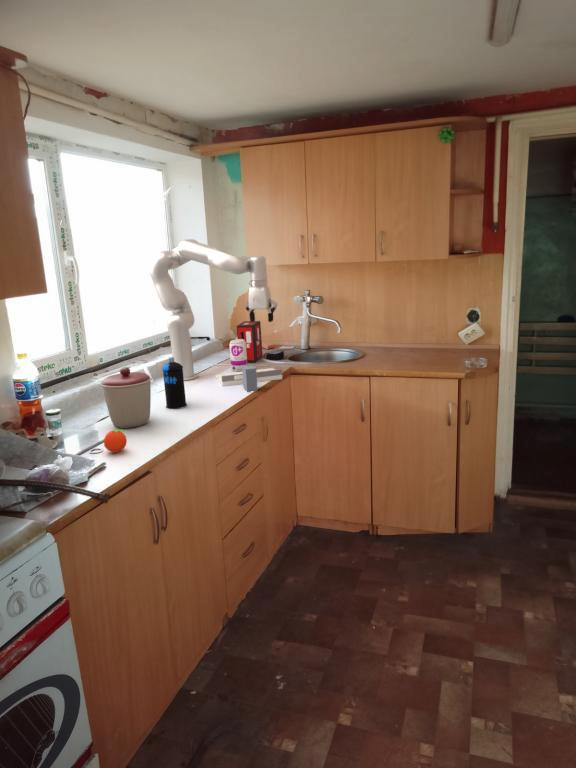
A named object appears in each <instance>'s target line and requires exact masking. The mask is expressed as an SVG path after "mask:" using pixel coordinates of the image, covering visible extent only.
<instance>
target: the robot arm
mask: <svg viewBox="0 0 576 768" xmlns="http://www.w3.org/2000/svg"><path fill="white" fill-rule="evenodd" d="M190 261H194V262H197V263H200V264H203V265H207V266H211V267H212V268H216V269H218V270H222V271H224V272H227V273H231V274H234V275H242V274H245V273H249V277H250V281H248V285H250V286H249V288H248V300H247V301H245V302H244V303H243V306H244V307H245V310H246V311H247V313H248V314H249V321H250V322H252V321H256V317H255V316H256V315H255V314H256V313H255V312H254V311H255V310H266V311H267V312H268V313H267V321H268V322H269V323H272V322H273V321H274V313H275V311H276V309H277V308H278V302H276V301H274V300H272V295H271V294H272V293H271V290H270V286H269V285H268V273H267V271H268V270H267V258H266V257H265V256H263V255H255V256H236V255H233V254H229V253H226V252H223V251H221V250H220V249H218V248H217V247H215V246H212V245H210V244H209V245H208V244H206V243H201V242H199V241H197V240H196V239H191V238H190V239H186V238H185V239H183V240H181V241H180V242H179V243H178V246H177V247H175V248H172V249H171V250H163V251H160V252H157V253H156V254H155V255H154V256H153V257H152V259H151V261H150V263H149V275H150V277H151V280H152V282H153V285H154V287H155V290H156V293H157V295H158V298H159V300H160V304H161V305H162V308H164V309H165V311H169V312H172V314H171V315H169V318H168V320H167V330H168V331H167V332H168V334H169V340H170V348H171V357H174V362H176V363H179V364H181V365H182V366H183V378H184V382H185V381H191V380H195V379H197V378H198V377H199V376H198V375H199V374H198V373H196V372H195V368H194V360H193V348H192V339H191V334H190V329H191V328H192V327H193V326H194V325H195V316H194V313H193V309H192V307H191V305H190V302H189V299H188V297H187V295H186V294H185V292H184V291H182V290H181V289H178V288H176V286H175V283H174V280H173V279H172V277H171V275H170V274H169V271H170V270H175V269H177V268H179V267H182V266H183V265H185V264H187V263H189V262H190Z"/></svg>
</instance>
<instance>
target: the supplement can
mask: <svg viewBox="0 0 576 768" xmlns="http://www.w3.org/2000/svg"><path fill="white" fill-rule="evenodd" d="M228 345H229V358H230V370H232V372H242V366H248V363H247V352H246V342H245V341H244V340H243V339H238V338H237V339H232V340H230V342H229V344H228Z"/></svg>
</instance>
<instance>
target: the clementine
mask: <svg viewBox="0 0 576 768" xmlns="http://www.w3.org/2000/svg"><path fill="white" fill-rule="evenodd" d="M123 432H124V433H123ZM125 433H126V434H128V436H130V434H129V433H128V432H127V431H125V430H121V429H116V430H115V429H113V430H111V431H109V432H108V433H107V434H105V436H104V438H103V445H104V447H105V449H106V450H107V451H109V452H111V453H119V452H121V451H123V450H124V449H125V448H126V446H127V442H128V441H127V436H126V435H125Z"/></svg>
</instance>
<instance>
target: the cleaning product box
mask: <svg viewBox="0 0 576 768" xmlns="http://www.w3.org/2000/svg"><path fill="white" fill-rule="evenodd" d="M261 327H262V326H261V321H260V320H255V321H252V322H250V320H244V321H242V322H241V323H239V324H238V325H236V334H237V335H236V336H237V339H243V340H244V341H245V342H246V352H247V364H256V363H258V362H259V361H260V360H261V359H262V358H263V346H262V345H263V344H262V343H263V342H262V328H261Z"/></svg>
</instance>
